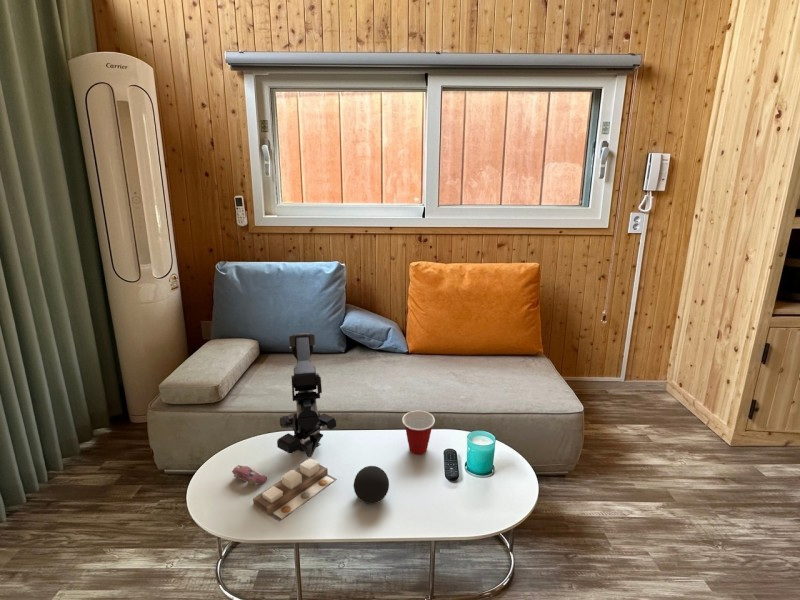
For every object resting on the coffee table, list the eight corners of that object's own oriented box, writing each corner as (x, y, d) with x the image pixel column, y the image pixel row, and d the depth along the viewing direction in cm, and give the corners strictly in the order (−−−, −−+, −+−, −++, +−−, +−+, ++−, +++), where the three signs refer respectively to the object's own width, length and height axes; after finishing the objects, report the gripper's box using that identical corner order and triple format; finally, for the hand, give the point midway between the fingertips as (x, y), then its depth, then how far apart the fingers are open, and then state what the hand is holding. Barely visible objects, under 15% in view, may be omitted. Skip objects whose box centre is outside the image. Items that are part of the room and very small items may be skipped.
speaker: (347, 506, 130) (347, 475, 128) (363, 484, 139) (363, 455, 137) (380, 515, 127) (380, 484, 124) (394, 493, 136) (394, 463, 133)
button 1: (274, 494, 134) (273, 485, 133) (283, 500, 131) (282, 491, 130) (262, 502, 130) (262, 493, 130) (272, 508, 128) (271, 499, 127)
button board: (311, 467, 147) (311, 460, 146) (337, 480, 141) (337, 473, 140) (253, 506, 130) (253, 498, 129) (279, 523, 124) (278, 515, 123)
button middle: (292, 478, 139) (292, 469, 138) (302, 483, 136) (301, 474, 135) (282, 485, 135) (281, 476, 135) (291, 490, 133) (290, 481, 132)
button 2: (310, 466, 144) (309, 458, 143) (319, 471, 142) (319, 462, 141) (300, 473, 141) (299, 464, 140) (309, 478, 139) (309, 469, 138)
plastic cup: (399, 458, 152) (399, 425, 149) (404, 440, 162) (404, 409, 159) (432, 461, 151) (433, 428, 147) (435, 442, 161) (436, 411, 158)
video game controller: (236, 482, 142) (226, 470, 138) (245, 469, 145) (236, 457, 141) (260, 492, 138) (251, 480, 133) (270, 479, 141) (261, 467, 136)
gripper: (311, 391, 148) (313, 434, 152) (263, 415, 133) (266, 462, 137) (336, 401, 141) (338, 446, 145) (289, 427, 127) (292, 476, 131)
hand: (309, 457), depth 140 cm, fingers closed
